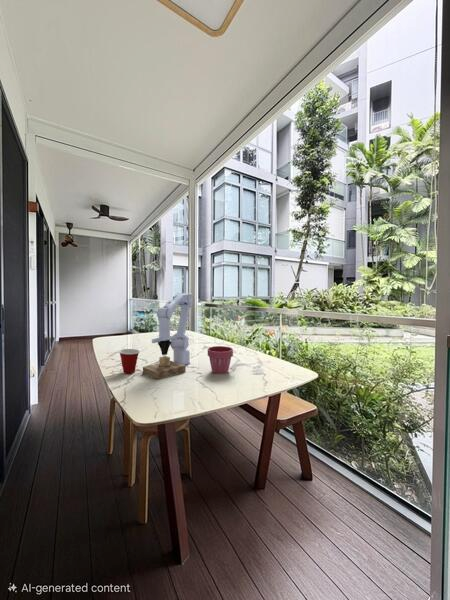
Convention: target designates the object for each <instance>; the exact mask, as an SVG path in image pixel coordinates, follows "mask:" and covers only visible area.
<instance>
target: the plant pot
mask: <svg viewBox="0 0 450 600" xmlns="http://www.w3.org/2000/svg"><path fill="white" fill-rule="evenodd" d="M233 356H234V349H233V348H232V347H229V346H223V345H221V346H219V345H217V346H210V347H208V348H207V357H209V362H210V368H211V373H213V374H216V375H217V374H219V375H221V374H227V373H228V372H229V369H230V365H231V361H232V360H231V359H232V357H233Z"/></svg>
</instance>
